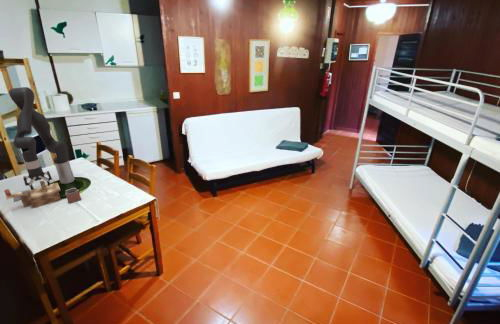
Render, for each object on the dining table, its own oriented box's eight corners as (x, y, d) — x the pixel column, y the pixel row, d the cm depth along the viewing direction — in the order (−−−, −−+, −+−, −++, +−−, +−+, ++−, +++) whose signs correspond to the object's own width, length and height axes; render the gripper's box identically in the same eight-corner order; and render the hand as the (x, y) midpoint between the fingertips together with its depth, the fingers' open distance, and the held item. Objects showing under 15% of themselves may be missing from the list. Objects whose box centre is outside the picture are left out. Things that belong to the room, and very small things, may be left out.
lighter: (80, 197, 184) (77, 185, 180) (82, 199, 182) (78, 187, 178) (67, 202, 179) (63, 189, 175) (68, 204, 177) (64, 191, 173)
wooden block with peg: (22, 193, 171) (19, 186, 169) (23, 195, 170) (19, 187, 167) (6, 198, 166) (3, 190, 164) (7, 199, 165) (3, 191, 162)
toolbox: (58, 192, 189) (55, 182, 186) (61, 199, 181) (57, 189, 178) (23, 202, 177) (19, 192, 174) (24, 210, 169) (20, 199, 166)
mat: (44, 186, 196) (44, 186, 196) (46, 193, 188) (45, 192, 188) (13, 194, 186) (13, 193, 185) (13, 201, 178) (13, 201, 177)
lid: (57, 183, 187) (55, 176, 184) (60, 190, 179) (58, 182, 177) (29, 191, 177) (26, 183, 175) (31, 198, 169) (28, 190, 167)
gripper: (46, 161, 176) (53, 182, 183) (19, 167, 167) (27, 188, 174) (47, 165, 171) (54, 186, 178) (19, 171, 162) (28, 193, 169)
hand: (41, 187), depth 176 cm, fingers open, 8 cm apart
